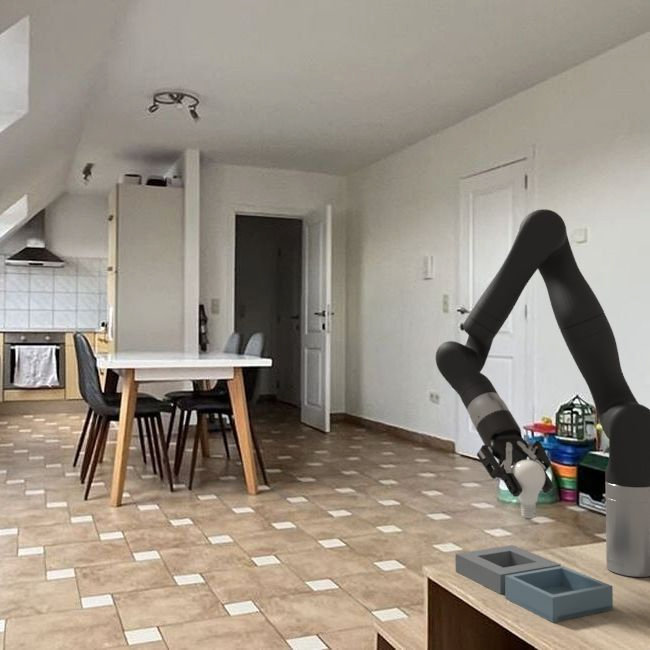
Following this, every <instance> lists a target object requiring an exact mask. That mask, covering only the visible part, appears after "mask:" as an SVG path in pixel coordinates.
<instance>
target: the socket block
mask: <svg viewBox="0 0 650 650" xmlns="http://www.w3.org/2000/svg"><path fill="white" fill-rule="evenodd" d="M558 566H562V564H561V563H558V562H556V561H553V560H551V559H547V558H546V557H543V556H540V555H538V554H536V553H534V552H530V551H528V550H526V549H523V548H520V547H518V546H516V545H514V544H513V545H504V546H498V547H491V548H485V549H478V550H472V551H465V552H459V553H458V552H457V553H455V572H456V573H458V574H460V575H462V576H464V577H465V578H467V579H469V580H471V581H473V582H476V583H477V584H480V585H482V586H484V587H486V588H488V589H490V590H491V591H493V592H495V593H496V594H499V595H504V594H505V576H506V575H512V574H518V573H523V572H529V571H535V570H541V569H547V568H552V567H558Z"/></svg>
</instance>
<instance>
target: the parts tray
mask: <svg viewBox="0 0 650 650" xmlns="http://www.w3.org/2000/svg"><path fill="white" fill-rule="evenodd" d="M613 591H614V589H613V585H611V584H609V583H606V582H603V581H601V580H598V579H596V578H594V577H591V576H588V575H587V574H583V573H580V572H578V571H576V570H573V569H571V568H569V567H565V566H563V565H561V566H558V567H552V568H547V569H541V570H535V571H529V572H523V573H518V574H512V575H506V576H505V595H504V597H505V599H506V600H508V601H510V602H512V603H514V604H516V605H518V606H520V607H521V608H523V609H525V610H527V611H529V612H530V613H534V614H535V615H537V616H539V617H541V618H544V619H545V620H547V621H549V622H551V623H558V622H561V621H567V620H571V619H575V618H582V617H586V616H591V615H595V614H599V613H605V612H610V611H613V610H614V608H613V605H614V601H613V600H614V599H613V598H614V596H613V593H614V592H613Z"/></svg>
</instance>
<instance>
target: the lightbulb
mask: <svg viewBox="0 0 650 650" xmlns="http://www.w3.org/2000/svg"><path fill="white" fill-rule="evenodd" d="M511 474H514V476H515V477H516V479H517V481H518V483H519V484H520V486H521V488H522V492H521V494H520V495H519V496H517V497H518V500H519V502H520V510H521V511H520V516H521V517H522V518H523V519H525V520H527V521H529V520H530V521H531V520H533V519H534V518H536V517H537V515H536V514H537V513H536V512H537V508H536V506H537V502H538V497H539V494H540V492H541V491H542V488H543V486H544V484H545V479H546V477H545V472H544V470H543V468H542V467H541V465H540V464H538V463H537V462H535V461H533V460H529V458H527V459H525V460H521V461H518V462H517V463H515V464H514V465H513V466H511Z"/></svg>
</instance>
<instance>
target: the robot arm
mask: <svg viewBox="0 0 650 650" xmlns="http://www.w3.org/2000/svg"><path fill="white" fill-rule="evenodd" d="M537 271H538V272H539V274H540V276H541V277H542V280H543V282H544V284H545V287H546V290H547V294H548V298H549V302H550V305H551V310H552V311H553V312H552V313H553V315H554V318H555V321H556V323H557V326H558V329H559V330H560V333H561V335H562V338H563V340H564V342H565V344H566V347H567V349H568V350H569V352H570V355H571V357H572V358H573V360H574V363H575V365H576V367H577V368H578V370H579V372H580V374H581V376H582V378H583V379H584V381H585V382H586V385H587V386H588V389H589V392H590V395H591V397H592V399H593V403H594V407H595V410H596V412H597V415H598V419H599V422H600V425H601V429H602V431H603V433H604V434H605V436H606V438H608V443H609V444H608V463H607V465H606V468H605V473H604V474H605V475H604V476H605V477H604V478H605V479H604V480H605V539H606V540H605V541H606V542H605V543H606V546H605V548H606V550H605V552H606V557H605V558H606V559H605V560H606V568H607V570H609V571H611V572H613V573H615V574H618V575H621V576H628V577H636V578H637V577H638V578H639V577H640V578H645V577H650V408H649V407H647V406H646V405H643V404H640V403H639V402H638V401H637V399H636V397H635V395H634V394H633V391H632V389H631V388H630V386H629V384H628V381H627V380H626V378H625V376H624V373H623V371H622V366H621V361H620V355H619V348H618V344H617V341H616V337H615V334H614V331H613V328H612V326H611V324H610V322H609V320H608V318H607V315H606V313H605V310H604V308H603V306H602V305H601V302H600V301H599V299H598V297H597V296H596V294H595V292H594V291H593V288H591V286H590V284H589V283H588V281H587V279H586V278H585V277H584V276H583V274H582V271H581V270H580V268H579V266H578V264H577V261H576V258H575V255H574V253H573V249H572V247H571V244H570V241H569V238H568V233H567V226H566V224H565V220H564V219H563V218H562V216H560V215H559V214H558V213H557V212H555V211H553V210H551V209H548V208H547V209H537V210H535V211H532V212H530V213H529V214H527V215H526V216H524V218H523V220H522V222H521V223H520V225H519V230H518V232H517V234H516V237H515V240H513V244H512V246H511V248H510V250H509V252H508V253H507V256H506V258H505V259H504V261H503V263H502V265H501V266H500V267H499V270H498V272H497V273H496V275H495V276H494V277H493V279H492V280H491V282H490V283H489V285H487V287H486V288H485V290H484V291H483V293H482V295H480V297H479V298H478V300H477V302H476V303H475V305H474V307H473V308H472V310H470V313H469V314H468V316H467V317H466V319H465V321H464V322H463V326H462V327H463V331H464V332H465V333H466V334H467V335H468V337H467V341H466V343H465V344H463V343H460V342H458V341H452V340H449V341H444V342H443V343H442V344H440V345H439V346H438V347H437V350H436V352H435V353H436V354H435V363H436V366H437V369H438V371H439V372H440V375H441V376H442V377H443V378H444V379H445V381H446V382H447V383H448V385H449V386H450V387H451V388H452V389H453V390H454V391H455V392H456V394H457V395H459V398H460V400H461V402H462V404H463V406H464V408H465V409H466V411H467V413H468V414H469V418H470V420H471V423H472V424H473V426H474V428H475V430H476V432H477V433H478V436H479V437H480V439H481V441H482V442H483V445H482V446H481V447H480V448H479V450H478V452H477V453H476V457H477V458H478V459H479V461H480V463H481V464H482V465H483V467H484V469H485V470H486V472H487V473H488V475H489V476H490V478H492V479H494V480H495V479H500V480H501V481H503V483H504V484H505V487H507V490H508V492H509V493H510V494H511V495H512V496H513V497H515V498H516V497H518V496H519V495H520V494H521V492H522V488H521V486H520V484H519V483H518V481H517V479H516V477H515V476H514V474H511V469H512V467H513V465H514V464H515V463H517V462H518V461H521V460H525V459H528V460H533V461H535V462H537V463H538V464H540V465H541V467H542V468H543V470H544V472H545V477H546V479H545V484H544V486H543V488H542V489H541V491H543V493H544V494H548V493H550V492H551V491H552V490H553V482H552V480H551V478H550V476H549V475H548V473H547V471H548V469H550V468H551V466H552V462H551V460H550V458H549V457H548V454H547V452H546V450H545V448H544V447H543V445H542V442H541V441H539V440H535V441H534V443H533V442H532V443H529V442H527V441H526V440H525V439H524V438H523V435H522V429H521V428H520V426H519V424H518V423H517V421H516V419H515V418H514V416H513V414H512V412H511V410H510V409H509V408H508V406H507V404H506V403H505V401H504V400H503V399H502V398H501V396H500V394H499V393H498V391H497V390H496V388H495V386H494V385H493V382H491V380H490V379H489V377H487V376H486V375H485V374H483V373H481V372H482V370H483V369H484V366H485V364H486V362H487V360H488V356H489V353H490V351H491V348H492V344H493V341H494V338H495V337H496V336H497V334H498V333H499V332H500V330H501V328H502V327H503V326H504V324H505V322H506V320H507V319H508V318H509V316H510V315H511V313H512V312H513V310H514V308H515V306H516V304H517V303H518V300H519V298H520V296H521V295H522V293H523V292H524V289H525V288H526V286H527V285H528V283H529V281H530V280H531V278H532V277H533V276H534V274H535V273H536V272H537Z"/></svg>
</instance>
